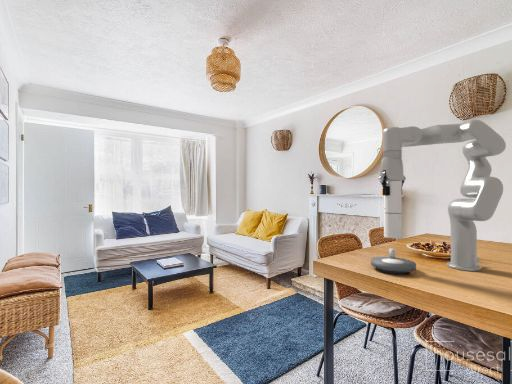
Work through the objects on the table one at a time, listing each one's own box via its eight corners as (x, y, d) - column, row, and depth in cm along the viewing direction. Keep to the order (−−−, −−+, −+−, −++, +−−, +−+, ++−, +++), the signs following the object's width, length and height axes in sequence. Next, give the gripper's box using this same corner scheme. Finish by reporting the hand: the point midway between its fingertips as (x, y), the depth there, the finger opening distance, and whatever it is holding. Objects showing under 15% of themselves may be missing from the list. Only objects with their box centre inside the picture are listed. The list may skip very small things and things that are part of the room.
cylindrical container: (397, 235, 124) (397, 181, 124) (404, 238, 117) (404, 180, 117) (381, 235, 124) (381, 181, 125) (387, 238, 117) (387, 180, 117)
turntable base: (390, 265, 128) (390, 261, 128) (414, 271, 117) (414, 268, 117) (372, 268, 123) (372, 264, 123) (395, 275, 112) (395, 271, 112)
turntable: (371, 259, 132) (371, 247, 132) (413, 263, 125) (413, 250, 125) (369, 268, 116) (369, 254, 116) (418, 273, 108) (418, 258, 108)
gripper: (398, 157, 128) (398, 195, 128) (371, 155, 120) (371, 195, 120) (413, 155, 121) (413, 195, 121) (385, 153, 114) (386, 195, 114)
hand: (392, 195), depth 121 cm, fingers closed on cylindrical container, 7 cm apart
